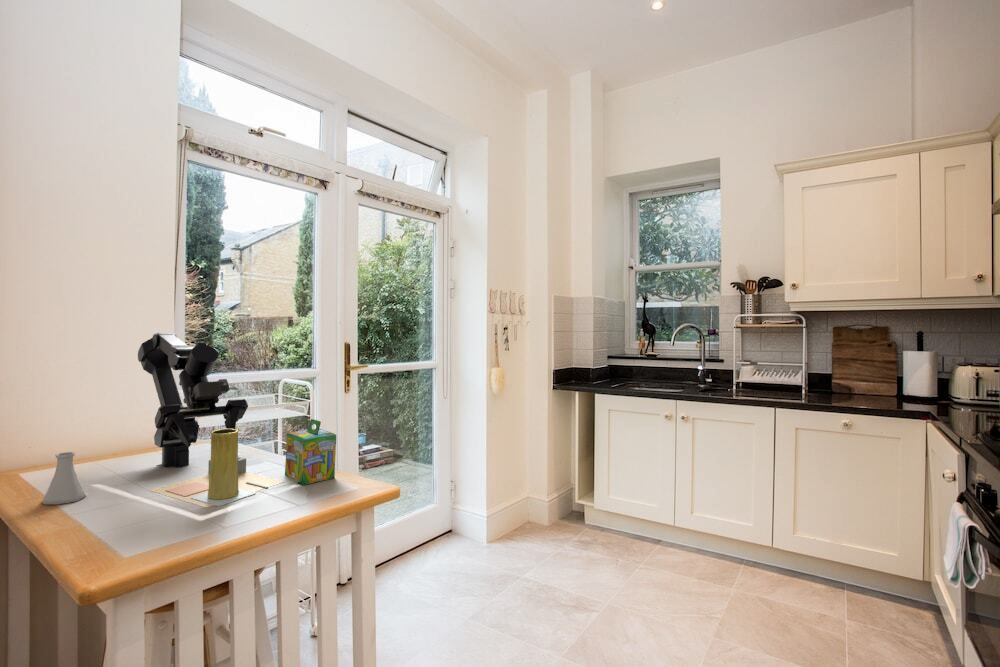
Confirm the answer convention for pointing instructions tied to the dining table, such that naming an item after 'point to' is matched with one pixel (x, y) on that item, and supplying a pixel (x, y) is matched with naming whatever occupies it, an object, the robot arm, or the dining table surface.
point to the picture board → (199, 486)
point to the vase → (223, 464)
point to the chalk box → (310, 454)
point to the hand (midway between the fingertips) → (211, 442)
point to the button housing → (240, 465)
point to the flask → (64, 482)
